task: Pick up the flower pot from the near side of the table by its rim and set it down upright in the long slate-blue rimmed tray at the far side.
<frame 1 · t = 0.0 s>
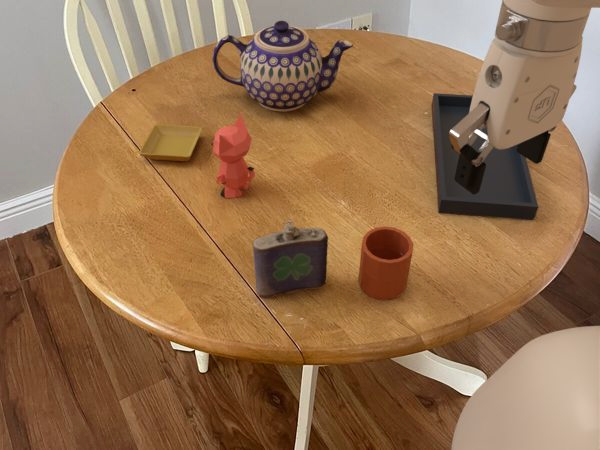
hand: (498, 171, 65), 17 cm above the table, tool pointing down, fingers open, 9 cm apart
yellow square dish: (173, 150, 98), on the table
tray: (476, 156, 96), on the table
flask: (291, 286, 76), on the table
flower pot: (382, 281, 76), on the table
cat figurine: (237, 190, 90), on the table
teapot: (283, 98, 110), on the table
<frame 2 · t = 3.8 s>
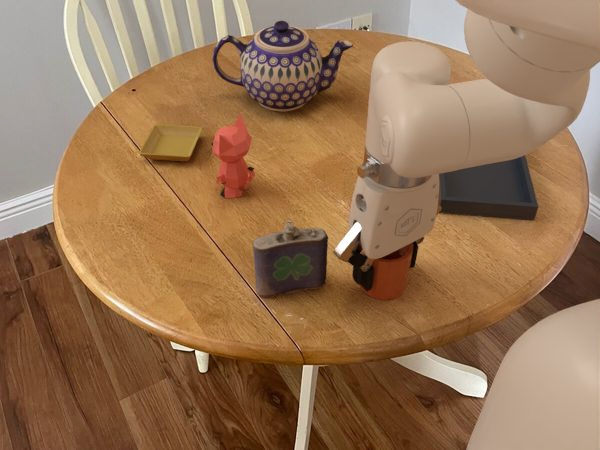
hand: (383, 271, 75), 2 cm above the table, tool pointing down, fingers closed on flower pot, 6 cm apart
flower pot: (382, 281, 76), on the table, touching gripper
everything else where it was.
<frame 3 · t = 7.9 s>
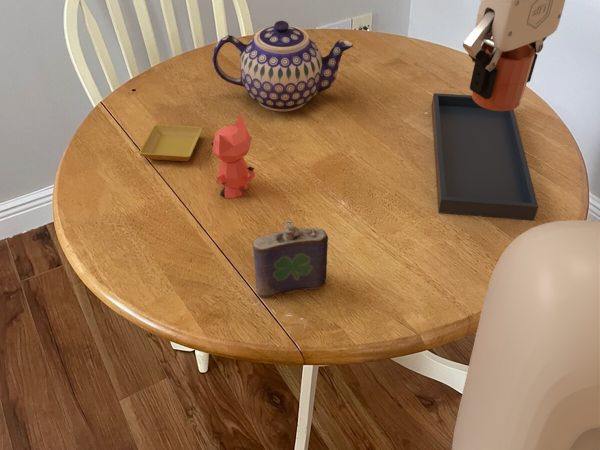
hand: (499, 84, 75), 19 cm above the table, tool pointing down, fingers closed on flower pot, 6 cm apart
flower pot: (496, 98, 77), point 17 cm above the table, touching gripper
everything else where it was.
when the fingers open (3 cm above the table, at t = 12.2 s): flower pot stays where it is, resting on tray.
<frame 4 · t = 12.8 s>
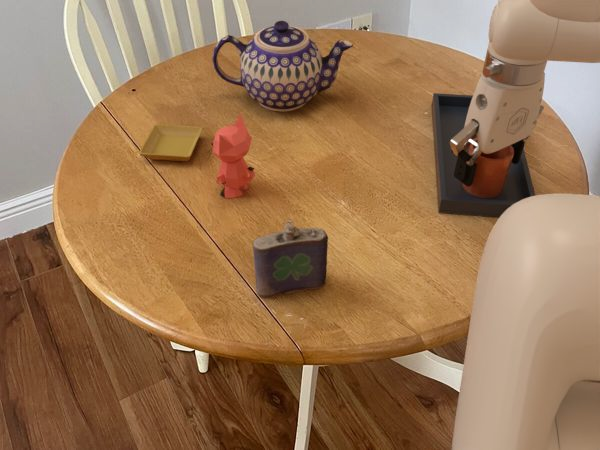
hand: (486, 169, 87), 4 cm above the table, tool pointing down, fingers open, 9 cm apart
flower pot: (481, 185, 90), point 1 cm above the table, touching tray
everything else where it was.
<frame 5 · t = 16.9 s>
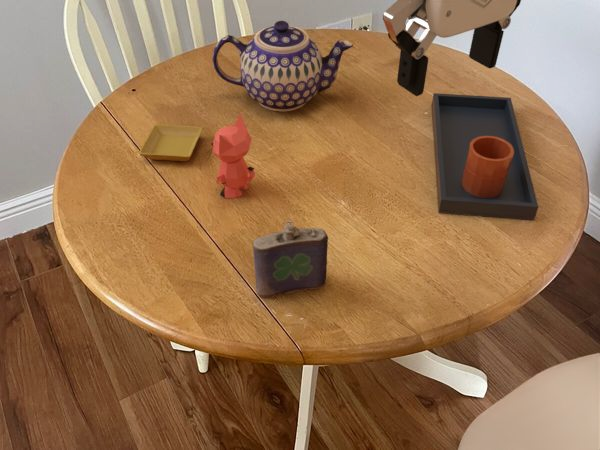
hand: (446, 75, 59), 28 cm above the table, tool pointing down, fingers open, 9 cm apart
nothing on the table moved.
at the end: flower pot inside the target area in the tray (0.2 cm from its centre), point 0.6 cm above the tray's base; flower pot tilted 0°; the gripper is holding nothing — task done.
